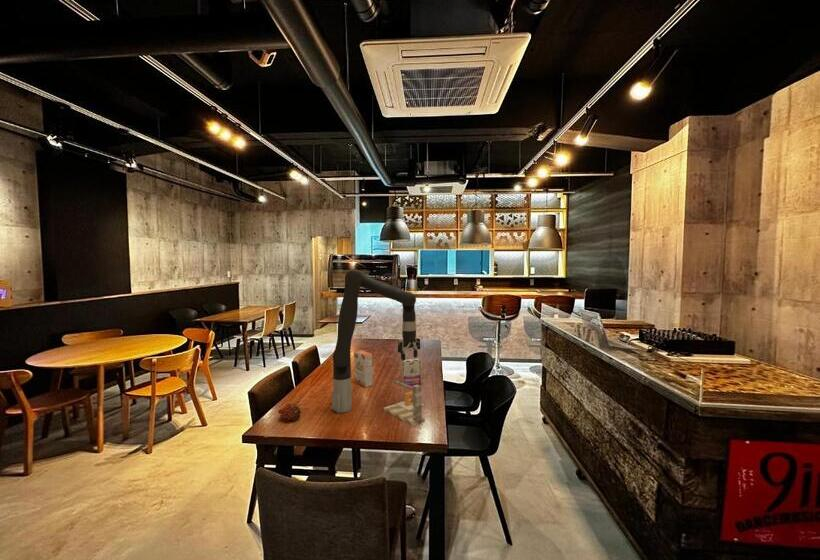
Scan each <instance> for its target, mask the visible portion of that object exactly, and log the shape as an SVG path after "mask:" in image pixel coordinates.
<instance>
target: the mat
mask: <svg viewBox="0 0 820 560" xmlns="http://www.w3.org/2000/svg"><path fill="white" fill-rule="evenodd" d="M409 401H411V398H409ZM395 405H397V406H399V407H402V408H404V409H406V410H408V411H410V412H412V411H413V405H410V406H406V405H405V400H403V401H400V402H397V403H395ZM424 406H425V404H424V403H422V407H424Z"/></svg>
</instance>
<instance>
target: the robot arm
mask: <svg viewBox="0 0 820 560" xmlns="http://www.w3.org/2000/svg"><path fill="white" fill-rule="evenodd" d="M361 288H362V289H363V288H364V289H367V290H369V291H371V292H374V293H376V294H377V295H380V296H383V297H385V298H387V299H390V300H393V301H396V302H399V303H400V304H401V305H402V325H401V327H402V330H401V331H402V332H401V333H402V334H401V336H402V341H399V340H398V342H397V353H400V359H401V361H402V360H403V361H404V360H405V359H406V351H407V350H408V349H410V348H411V349H412V350H413V352H412V353H413V354H412V356H413V358H414V359H416V358H417V357H418V351H419V350H420V349H421V338H418V337H417V322H416V321H417V320H416V319H417V318H416V315H417V313H416V310H415V304H416V301H417V297H416V295H415V294H414V293H413V292H409V291H407V290H403V289H401V288H398V287H396V286H395V285H393V284H389V283H386V282H384V281H379V280H377V279H374V278H372V277H369V276H367V275H366V274H364V273H363V272H361V270H359V269H356V268H354V269H353V268H352V269H349V270H347V272H346V273H345V275H344V291H343V298H342V301H341V305H340V310H339V313H338V321H337V338H336V344H335V348H334V350H333V354H332V365H333V368H332V371H333V372H332V376H333V378H332V380H333V391H332V392H331V403H332V405H331V406H332V411H334V412H335V413H336V414H341V413H347V412H350V411H351V410H352V365H351V362H352V361H351V359H352V358H351V346H352V339H353V336H354V332H355V327H356V324H357V317H358V310H359V309H358V307H359V303H358V302H359V301H358V300H359V293H360V289H361Z"/></svg>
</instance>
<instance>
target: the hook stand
mask: <svg viewBox="0 0 820 560" xmlns="http://www.w3.org/2000/svg"><path fill="white" fill-rule="evenodd" d="M393 383H394V384H397V385H398V386H401V387H404V388H407V389H410V390H411V391H413V410H412V411H408V410H406V409H404V408H402V407H399V406H397V405H396V403H393V404H391V405H388V406H385V407H383V411H384V412H385V413H388V414H390V415H392V416H394V417H396V418H397V419H400V420H402V421H403V422H404V423H407V424H409V425H410V426H413V427H415V426H417V425H420V424H423V423H425V421H426V420H425V419H426V418H424V417H422V415H423V414H422V410H423V409H422V407H423V406H422V404H423V403H422V401H423V400H422V385H414V386H409V385H407V384H404V383H403V382H401V381H398V380H397V379H394V380H393Z"/></svg>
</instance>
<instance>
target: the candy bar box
mask: <svg viewBox="0 0 820 560" xmlns="http://www.w3.org/2000/svg"><path fill="white" fill-rule="evenodd" d="M401 367H402V368H401V371H402V373H401V374H402V383H404V384H407V385H409V386H412V387H413V386H414V385H420V386H422V385H421V384H422V383H421V382H422V381H421V380H422V379H421V360H420V358H405V360H404V361H403V360H402V359H401Z"/></svg>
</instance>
